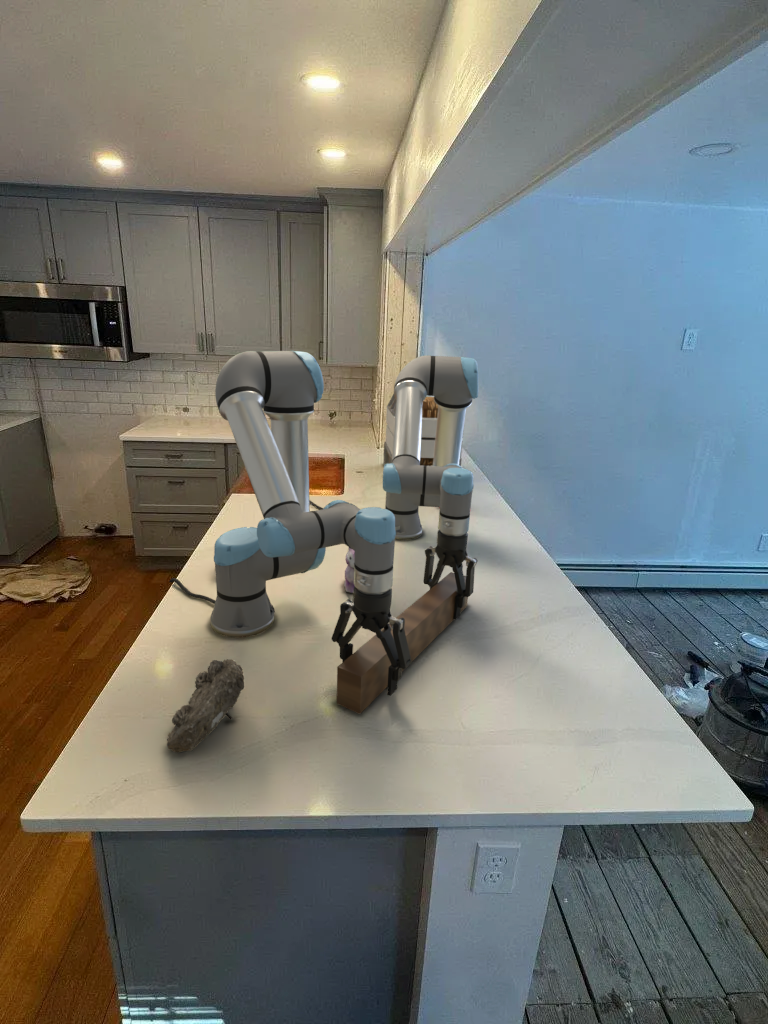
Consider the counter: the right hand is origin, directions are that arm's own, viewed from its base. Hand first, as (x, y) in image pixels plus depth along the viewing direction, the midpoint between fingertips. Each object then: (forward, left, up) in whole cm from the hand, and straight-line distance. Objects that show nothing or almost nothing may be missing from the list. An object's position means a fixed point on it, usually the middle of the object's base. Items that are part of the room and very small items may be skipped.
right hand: (445, 613), depth 148 cm
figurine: (-26, -9, -1) cm, 27 cm away
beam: (+6, -18, -1) cm, 18 cm away
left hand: (+11, -35, +1) cm, 37 cm away
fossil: (0, -64, -1) cm, 64 cm away
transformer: (-102, +89, -1) cm, 135 cm away
